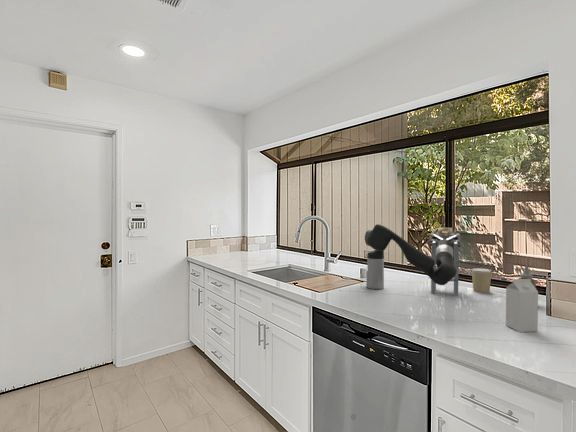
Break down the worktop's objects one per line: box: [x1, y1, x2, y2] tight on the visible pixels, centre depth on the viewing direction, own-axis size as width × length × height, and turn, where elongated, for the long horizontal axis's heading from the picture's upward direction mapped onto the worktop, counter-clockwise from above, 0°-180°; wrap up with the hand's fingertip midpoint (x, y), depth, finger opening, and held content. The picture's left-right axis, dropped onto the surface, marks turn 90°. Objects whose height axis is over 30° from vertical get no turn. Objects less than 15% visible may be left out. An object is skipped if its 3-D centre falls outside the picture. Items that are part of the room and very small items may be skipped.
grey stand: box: [429, 232, 461, 297], centre depth 176 cm, size 14×10×32 cm
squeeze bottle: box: [518, 266, 537, 289], centre depth 154 cm, size 8×8×18 cm
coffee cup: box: [471, 267, 493, 294], centre depth 178 cm, size 9×9×12 cm
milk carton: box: [505, 278, 539, 333], centre depth 124 cm, size 7×7×19 cm
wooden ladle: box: [437, 227, 453, 236], centre depth 171 cm, size 7×19×3 cm, turn 153°
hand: (445, 232), depth 167 cm, fingers open, 8 cm apart
